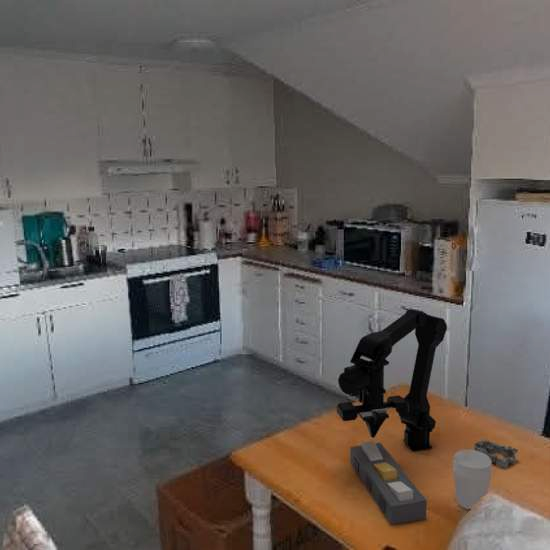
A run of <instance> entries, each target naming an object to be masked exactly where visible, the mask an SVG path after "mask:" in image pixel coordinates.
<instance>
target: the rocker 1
mask: <svg viewBox="0 0 550 550" xmlns="http://www.w3.org/2000/svg"><path fill="white" fill-rule="evenodd" d="M375 443H376V442H375V440H368V441H365V442H364V441H363V442H361V449H362V452H363V453H364V454H365V456H366V457H367V459H368V460H369V461H370V462H375V461H382V460H383V457H382V455H381V453H380V451H379V450H378V448H377V446H376V444H375Z"/></svg>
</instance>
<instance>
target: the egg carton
mask: <svg viewBox="0 0 550 550" xmlns="http://www.w3.org/2000/svg"><path fill="white" fill-rule="evenodd" d="M472 445H473V446H474V450H476V451H479V452H482V453H484V454H486V455H488V456H489V457H490V459H491V461H492V463H493V464H496V468H499V469H500V468H504V469H507V468H508V467H509V464H512V465H514V464H516V454H517V453H518V452H519V450H518V449H517V448H515V447H513V446H506V445H501V444H499V443H497V442H493V441H490V440H488V439H481V440H480V441H475V443H472ZM496 453H499V454H500V455H502V457H503V458H500V457H498V456H497V455H495V454H496Z"/></svg>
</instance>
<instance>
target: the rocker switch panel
mask: <svg viewBox="0 0 550 550" xmlns="http://www.w3.org/2000/svg"><path fill="white" fill-rule="evenodd" d="M375 444H376V446H377V448H378V450H379V451H380V453H381V455H382V457H383V460H382V461H375V462H370V461H369V460H368V459H367V457H366V456H365V454H364V453H363V452H362V449H361V445H360V444H359V445H353V446H350V447H349V452H350V453H349V454H350V455H349V456H350V457H349V458H350V459H349V460H350V461H349V463H350V465H351V466H352V468H353V470H354V471H355V473H356V474H357V476H358V477H359V478H360V480H361V482H362V483H363V485H364V486H365V488H366V490H367V491H368V493H369V494H370V496H371V497H372V498H373V500H374V502H375V503H376V505H377V507H378V508H379V509H380V510H381V512H382V514H383V516H384V517H385V519H386V520H387V521H388V523H389V525H390V526H395V525H400V524H406V523H407V524H408V523H412V522H416V521H417V522H418V521H421V520H427V503H428V501H427V499H426V497H425V496H424V495H423V494H422V493H421V491H420V490H419V489H418V488H417V487H416V485H415V484H414V483H413V482H412V480H411V479H410V478H409V476H408V475H407V474H406V473H405V472H404V470H403V469H402V468H401V466H400V465H399V464H398V463H397V462H396V460H395V459H394V458H393V456H392V455H391V453H389V452H388V450H387V449H386V448H385V447H384V445H383V444H382V442H375ZM385 462H386V463H388V464H389V465H390V466H392V467H393V468H395V469H396V470H397V478H398V479H392V480H386V481H384V480H383V479H382V478H381V477H380V475H379V474H378V473H377V471H376V470H375V468H374V467H373V464H379V463H385ZM398 481H401V482H402V483H404V484H405V485H406V486H408V487H409V488H410V489H412V490H413V500H407V501H402V502H399V501H398V500H397V499H396V498H395V496H394V495H393V493H392V492H391V491H390V489H389V488H388V486H387V483H392V482H398Z"/></svg>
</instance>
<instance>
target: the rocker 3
mask: <svg viewBox="0 0 550 550" xmlns="http://www.w3.org/2000/svg"><path fill="white" fill-rule="evenodd" d="M387 486H388V488H389V489H390V491H391V492H392V493H393V495H394V496H395V498H396V499H397V500H398V501H399V502H402V501H407V500H413V490H412V489H410V488H409V487H408V486H406V485H405V484H404V483H402V482H401V481H398V482H392V483H387Z"/></svg>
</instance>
